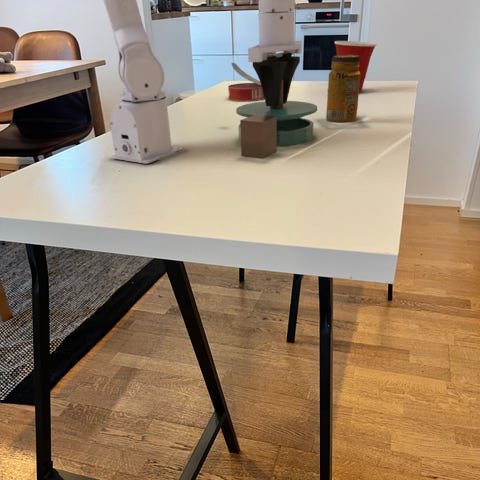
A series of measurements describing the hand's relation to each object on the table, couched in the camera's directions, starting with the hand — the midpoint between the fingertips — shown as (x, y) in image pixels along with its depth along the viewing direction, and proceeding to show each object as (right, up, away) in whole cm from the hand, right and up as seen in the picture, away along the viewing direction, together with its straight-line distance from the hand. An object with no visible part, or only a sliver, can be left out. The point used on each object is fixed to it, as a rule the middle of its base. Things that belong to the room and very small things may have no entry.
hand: (276, 104), depth 84 cm
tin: (0, -5, +3) cm, 6 cm away
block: (-3, -11, -6) cm, 13 cm away
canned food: (-4, +21, +44) cm, 49 cm away
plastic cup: (+24, +24, +46) cm, 57 cm away
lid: (0, -1, +1) cm, 1 cm away
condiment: (+14, +2, +14) cm, 20 cm away
